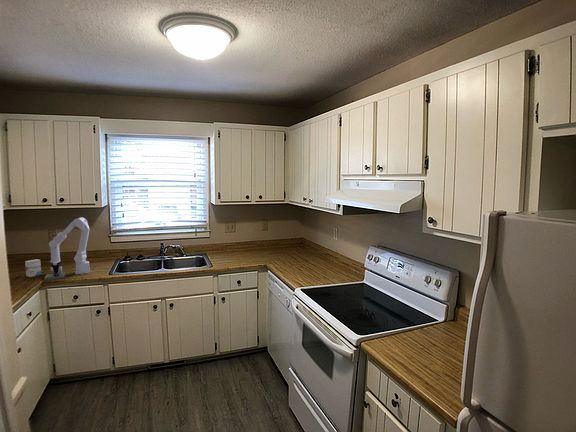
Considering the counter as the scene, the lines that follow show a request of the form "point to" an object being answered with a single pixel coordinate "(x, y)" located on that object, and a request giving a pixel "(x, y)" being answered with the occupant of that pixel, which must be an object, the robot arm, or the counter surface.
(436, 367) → the counter surface
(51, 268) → the block
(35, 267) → the ink box
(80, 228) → the robot arm
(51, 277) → the stand
